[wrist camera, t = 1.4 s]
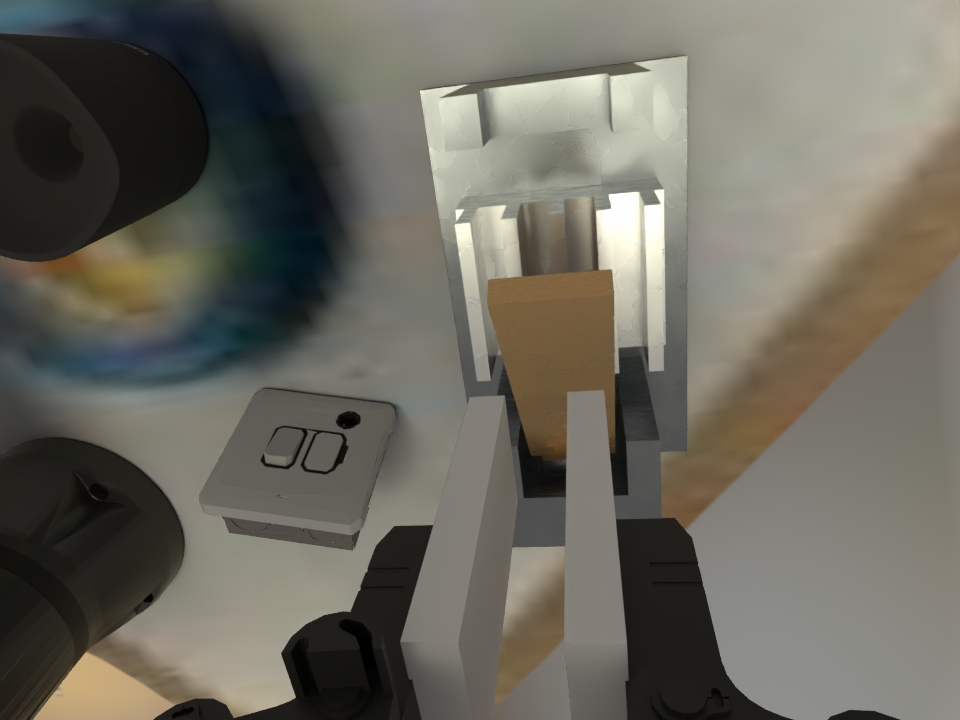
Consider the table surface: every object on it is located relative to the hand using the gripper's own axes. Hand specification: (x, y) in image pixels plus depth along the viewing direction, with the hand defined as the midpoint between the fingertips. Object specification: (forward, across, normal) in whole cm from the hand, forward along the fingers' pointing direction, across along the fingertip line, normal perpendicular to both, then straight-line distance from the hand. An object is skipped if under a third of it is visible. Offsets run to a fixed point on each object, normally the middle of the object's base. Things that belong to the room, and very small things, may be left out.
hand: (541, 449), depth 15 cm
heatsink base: (+24, 0, -5) cm, 25 cm away
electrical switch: (+25, -16, -14) cm, 32 cm away
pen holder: (+25, -23, +6) cm, 34 cm away
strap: (+13, 0, -5) cm, 14 cm away
